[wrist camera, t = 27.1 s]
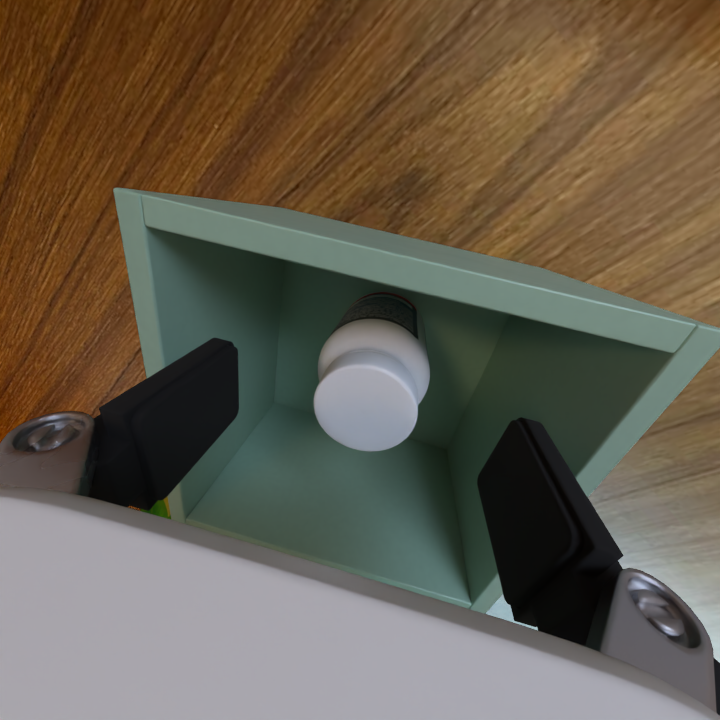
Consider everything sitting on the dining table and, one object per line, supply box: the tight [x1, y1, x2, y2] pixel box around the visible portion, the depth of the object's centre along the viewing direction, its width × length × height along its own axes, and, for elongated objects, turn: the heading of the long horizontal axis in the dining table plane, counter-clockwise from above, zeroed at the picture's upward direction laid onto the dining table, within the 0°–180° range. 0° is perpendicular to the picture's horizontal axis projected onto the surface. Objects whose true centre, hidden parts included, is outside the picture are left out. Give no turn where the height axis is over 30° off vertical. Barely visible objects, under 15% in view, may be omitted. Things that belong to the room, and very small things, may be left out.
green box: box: [113, 187, 720, 614], centre depth 15 cm, size 15×16×11 cm
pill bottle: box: [314, 291, 430, 452], centre depth 14 cm, size 5×5×9 cm
